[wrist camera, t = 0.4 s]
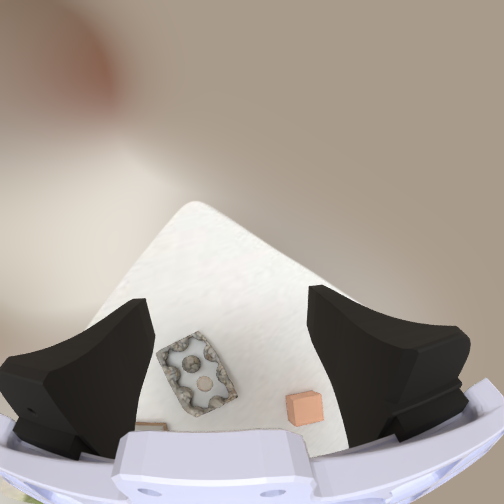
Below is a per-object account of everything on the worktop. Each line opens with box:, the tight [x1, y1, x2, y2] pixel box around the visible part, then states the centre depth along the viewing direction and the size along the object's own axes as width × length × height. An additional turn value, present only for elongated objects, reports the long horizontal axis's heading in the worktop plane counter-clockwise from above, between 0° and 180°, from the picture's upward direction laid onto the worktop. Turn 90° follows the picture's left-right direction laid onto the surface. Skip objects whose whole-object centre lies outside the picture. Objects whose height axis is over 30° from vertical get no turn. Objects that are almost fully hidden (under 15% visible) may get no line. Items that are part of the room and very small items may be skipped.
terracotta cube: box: [286, 391, 324, 427], centre depth 33 cm, size 4×4×4 cm
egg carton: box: [156, 331, 238, 417], centre depth 33 cm, size 11×8×4 cm
